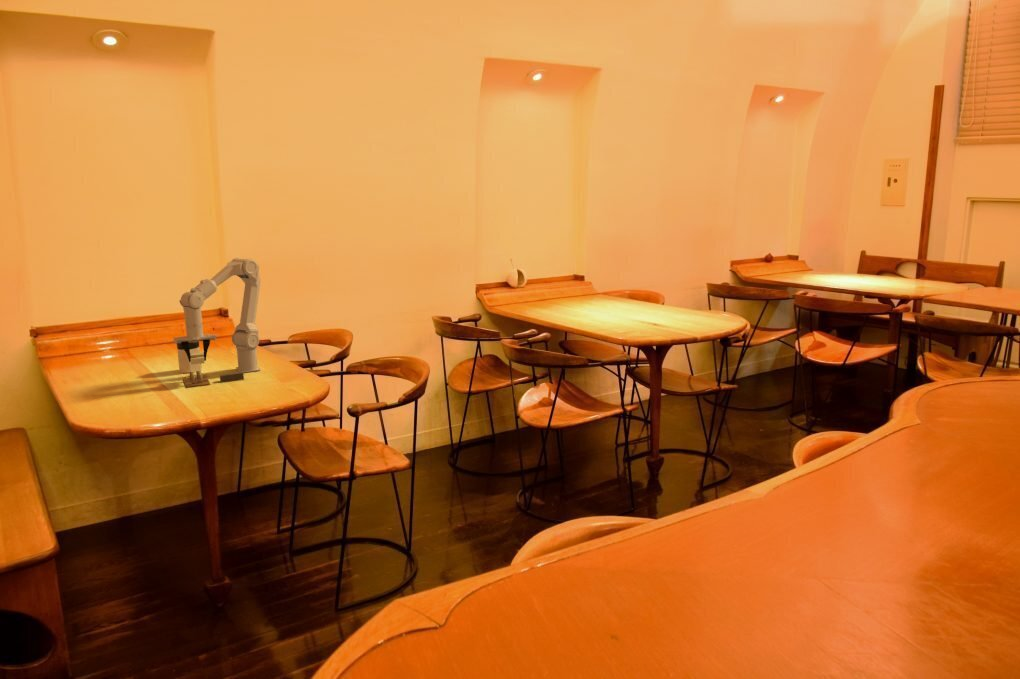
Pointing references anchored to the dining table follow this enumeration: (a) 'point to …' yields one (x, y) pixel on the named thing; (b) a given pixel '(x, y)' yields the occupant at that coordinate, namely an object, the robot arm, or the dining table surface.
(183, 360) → the jar
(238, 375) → the block
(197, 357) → the shelf board
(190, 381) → the peg base
